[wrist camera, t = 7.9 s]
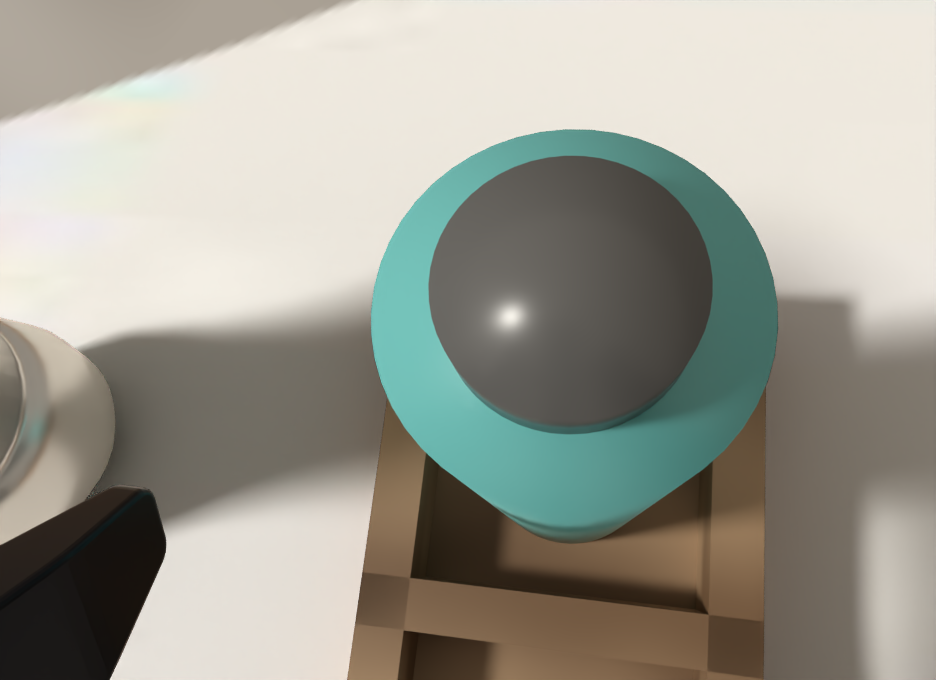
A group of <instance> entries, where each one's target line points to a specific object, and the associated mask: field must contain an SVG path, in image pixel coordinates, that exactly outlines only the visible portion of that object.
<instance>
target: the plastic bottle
mask: <svg viewBox="0 0 936 680" xmlns="http://www.w3.org/2000/svg"><path fill="white" fill-rule="evenodd" d="M114 436H115V410H114V402H113V398H112V395H111V392H110V388H109V385H108V384H107V382H106V380H105V378H104V377H103V375H102V373H101V372H100V370H99V369H98V368H97V367H96V366H95V365H94V364H93V363H92V362H91V361H90V360H89V359H88V358H87V357H86V356H84V355H83V354H82V353H80V352H79V351H78V350H76V349H75V348H74V347H72V346H71V345H70V344H68V343H67V342H66V341H64V340H63V339H61V338H60V337H58V336H56V335H55V334H53V333H52V332H50V331H48V330H45V329H42V328H39V327H36V326H33V325H29V324H25V323H21V322H17V321H13V320H8V319H4V318H0V545H1V544H3V543H5V542H7V541H9V540H11V539H13V538H15V537H16V536H18V535H20V534H22V533H24V532H26V531H28V530H30V529H32V528H34V527H36V526H37V525H39V524H41V523H43V522H45V521H47V520H49V519H51V518H53V517H55V516H57V515H58V514H60V513H62V512H64V511H66V510H68V509H70V508H72V507H74V506H76V505H77V504H79V503H81V502H83V501H85V499H86V498H87V496H88V495H89V494H90V492H91V491H92V490H93V488H94V487H95V485H96V484H97V483H98V481H99V480H100V478H101V476H102V474H103V472H104V470H105V468H106V466H107V464H108V462H109V458H110V455H111V452H112V448H113V444H114Z"/></svg>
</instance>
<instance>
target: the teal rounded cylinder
mask: <svg viewBox="0 0 936 680" xmlns="http://www.w3.org/2000/svg"><path fill="white" fill-rule="evenodd" d="M777 333H778V311H777V298H776V292H775V286H774V280H773V276H772V273H771V270H770V267H769V263H768V260H767V257H766V254H765V252H764V250H763V248H762V245H761V243H760V241H759V239H758V237H757V235H756V233H755V231H754V229H753V228H752V226H751V225H750V223H749V222H748V220H747V219H746V217H745V215H744V214H743V212H742V211H741V209H740V208H739V207H738V206H737V205H736V204H735V202H734V201H733V200H732V199H731V198H730V197H729V196H728V194H727V193H726V192H725V191H724V190H723V189H722V188H721V187H720V186H719V185H717V184H716V183H715V182H714V181H713V180H712V179H711V178H710V177H709V176H707V175H706V174H705V173H704V172H702V171H701V170H699V169H698V168H696V167H695V166H694V165H692V164H691V163H689V162H688V161H686V160H685V159H683V158H681V157H679V156H677V155H675V154H673V153H672V152H670V151H668V150H666V149H664V148H662V147H659V146H656V145H654V144H651V143H648V142H646V141H643V140H641V139H637V138H633V137H629V136H625V135H621V134H617V133H611V132H604V131H596V130H556V131H546V132H539V133H534V134H530V135H525V136H521V137H516V138H514V139H511V140H508V141H505V142H502V143H499V144H496V145H493V146H491V147H489V148H487V149H485V150H483V151H481V152H479V153H477V154H475V155H473V156H471V157H469V158H468V159H466V160H465V161H463V162H461V163H460V164H458V165H457V166H455V167H453V168H452V169H451V170H449V171H448V172H447V173H446V174H444V175H443V176H442V177H441V178H439V179H438V180H437V181H436V182H435V183H433V184H432V185H431V186H430V187H429V188H428V189H427V190H426V191H425V193H424V194H423V195H422V196H421V197H420V198H419V199H418V200H417V201H416V202H415V203H414V205H413V206H412V207H411V209H410V210H409V211H408V213H407V214H406V215H405V217H404V218H403V219H402V221H401V222H400V224H399V226H398V228H397V229H396V231H395V233H394V235H393V236H392V238H391V240H390V242H389V244H388V247H387V249H386V251H385V254H384V256H383V259H382V261H381V264H380V267H379V271H378V275H377V279H376V282H375V286H374V293H373V301H372V308H371V336H372V343H373V351H374V358H375V362H376V366H377V369H378V373H379V376H380V380H381V383H382V385H383V388H384V390H385V392H386V395H387V397H388V399H389V402H390V404H391V406H392V408H393V409H394V411H395V413H396V414H397V416H398V418H399V419H400V421H401V423H402V424H403V426H404V427H405V429H406V430H407V431H408V433H409V434H410V435H411V436H412V437H413V439H414V440H415V441H416V442H417V444H418V445H419V446H420V447H421V448H422V449H423V450H424V451H425V452H426V453H427V454H428V455H429V456H430V457H431V458H432V459H433V460H434V461H435V462H437V463H438V464H439V465H440V466H441V467H442V468H443V469H445V470H446V471H448V472H449V473H450V474H452V475H453V476H454V477H456V478H457V479H458V480H460V481H461V482H462V483H464V484H465V485H466V486H468V487H469V488H470V489H472V490H473V491H474V492H476V493H477V494H478V495H480V496H481V497H482V498H484V499H485V500H486V501H488V502H489V503H490V504H492V505H493V506H494V507H496V508H497V509H498V510H500V511H501V512H502V513H504V514H505V515H506V516H508V517H509V518H510V519H512V520H513V521H514V522H516V523H517V524H518V525H520V526H521V527H522V528H524V529H525V530H527V531H528V532H530V533H532V534H534V535H536V536H538V537H540V538H543V539H546V540H548V541H553V542H557V543H566V544H577V543H585V542H591V541H594V540H597V539H600V538H603V537H605V536H607V535H609V534H611V533H613V532H614V531H616V530H617V529H619V528H620V527H622V526H623V525H624V524H626V523H627V522H629V521H630V520H632V519H633V518H634V517H636V516H637V515H639V514H640V513H642V512H643V511H644V510H646V509H647V508H649V507H650V506H652V505H653V504H654V503H656V502H657V501H659V500H660V499H662V498H663V497H664V496H666V495H667V494H669V493H670V492H672V491H673V490H674V489H676V488H677V487H679V486H680V485H682V484H683V483H684V482H686V481H687V480H689V479H690V478H692V477H693V476H694V475H696V474H697V473H699V472H700V471H702V470H703V469H704V468H705V467H706V466H708V465H709V464H710V463H711V462H712V461H713V460H714V459H715V458H717V457H718V456H719V455H720V454H721V453H722V452H723V451H724V450H725V449H726V448H727V447H728V446H729V444H730V443H731V442H732V441H733V440H734V438H735V437H736V436H737V435H738V434H739V433H740V431H741V430H742V429H743V427H744V426H745V424H746V422H747V421H748V419H749V418H750V416H751V414H752V413H753V411H754V410H755V408H756V406H757V404H758V402H759V400H760V397H761V395H762V393H763V391H764V388H765V386H766V384H767V382H768V378H769V374H770V371H771V367H772V363H773V360H774V356H775V349H776V341H777Z"/></svg>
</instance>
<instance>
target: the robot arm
mask: <svg viewBox="0 0 936 680" xmlns="http://www.w3.org/2000/svg"><path fill="white" fill-rule="evenodd" d="M165 553H166V537H165V533H164V530H163V526H162V522H161V519H160V515H159V511H158V508H157V504H156V500H155V497H154V495H153V493H152V492H151V491H150V490H149V489H146V488H144V487H135V486H126V485H116V486H112V487H110V488H108V489H106V490H104V491H102V492H100V493H98V494H96V495H95V496H93V497H91V498H89V499H87V500H85V501H83V502H81V503H79V504H77V505H76V506H74V507H72V508H70V509H68V510H66V511H64V512H62V513H60V514H58V515H57V516H55V517H53V518H51V519H49V520H47V521H45V522H43V523H41V524H39V525H37V526H36V527H34V528H32V529H30V530H28V531H26V532H24V533H22V534H20V535H18V536H16V537H15V538H13V539H11V540H9V541H7V542H5V543H3V544H1V545H0V680H110V678H111V676H112V674H113V672H114V669H115V667H116V665H117V663H118V661H119V659H120V657H121V655H122V652H123V650H124V648H125V646H126V643H127V641H128V639H129V637H130V634H131V632H132V630H133V628H134V625H135V623H136V621H137V619H138V616H139V614H140V612H141V610H142V607H143V605H144V603H145V601H146V598H147V596H148V594H149V592H150V589H151V587H152V585H153V583H154V580H155V578H156V576H157V574H158V571H159V569H160V567H161V565H162V562H163V560H164V556H165Z"/></svg>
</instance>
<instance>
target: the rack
mask: <svg viewBox="0 0 936 680" xmlns="http://www.w3.org/2000/svg"><path fill="white" fill-rule="evenodd" d="M765 417H766V386H765V388H764V391H763V393H762V395H761V397H760V400H759V402H758V404H757V406H756V408H755V410H754V411H753V413H752V414H751V416H750V418H749V419H748V421H747V422H746V424H745V426H744V427H743V429H742V430H741V431H740V433H739V434H738V435H737V436H736V437H735V438H734V440H733V441H732V442H731V443H730V444H729V446H728V447H727V448H726V449H725V450H724V451H723V452H722V453H721V454H720V455H719V456H718V457H717V458H715V459H714V460H713V461H712V462H711V463H710V464H709V465H708V466H706V467H705V468H704V469H703V470H702V471H700V472H699V473H697V474H696V475H694V476H693V477H692V478H690V479H689V480H687V481H686V482H684V483H683V484H682V485H680V486H679V487H677V488H676V489H674V490H673V491H672V492H670V493H669V494H667V495H666V496H664V497H663V498H662V499H660V500H659V501H657V502H656V503H654V504H653V505H652V506H650V507H649V508H647V509H646V510H644V511H643V512H642V513H640V514H639V515H637V516H636V517H634V518H633V519H632V520H630V521H629V522H627V523H626V524H624V525H623V526H622V527H620V528H619V529H617V530H616V531H614V532H613V533H611V534H609V535H607V536H605V537H603V538H600V539H597V540H594V541H591V542H585V543H577V544H566V543H557V542H553V541H548V540H546V539H543V538H540V537H538V536H536V535H534V534H532V533H530V532H528V531H527V530H525V529H524V528H522V527H521V526H520V525H518V524H517V523H516V522H514V521H513V520H512V519H510V518H509V517H508V516H506V515H505V514H504V513H502V512H501V511H500V510H498V509H497V508H496V507H494V506H493V505H492V504H490V503H489V502H488V501H486V500H485V499H484V498H482V497H481V496H480V495H478V494H477V493H476V492H474V491H473V490H472V489H470V488H469V487H468V486H466V485H465V484H464V483H462V482H461V481H460V480H458V479H457V478H456V477H454V476H453V475H452V474H450V473H449V472H448V471H446V470H445V469H443V468H442V467H441V466H440V465H439V464H438V463H437V462H435V461H434V460H433V459H432V458H431V457H430V456H429V455H428V454H427V453H426V452H425V451H424V450H423V449H422V448H421V447H420V446H419V445H418V444H417V442H416V441H415V440H414V439H413V437H412V436H411V435H410V434H409V433H408V431H407V430H406V429H405V427H404V426H403V424H402V423H401V421H400V419H399V418H398V416H397V414H396V413H395V411H394V409H393V408H392V406H391V404H390V402H389V399H388V397H387V403H386V410H385V418H384V425H383V432H382V439H381V446H380V453H379V460H378V467H377V474H376V481H375V488H374V495H373V502H372V509H371V516H370V523H369V530H368V537H367V544H366V551H365V558H364V565H363V572H362V579H361V586H360V593H359V600H358V607H357V614H356V621H355V628H354V635H353V643H352V650H351V657H350V664H349V671H348V678H347V680H763V666H764V541H765Z"/></svg>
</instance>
